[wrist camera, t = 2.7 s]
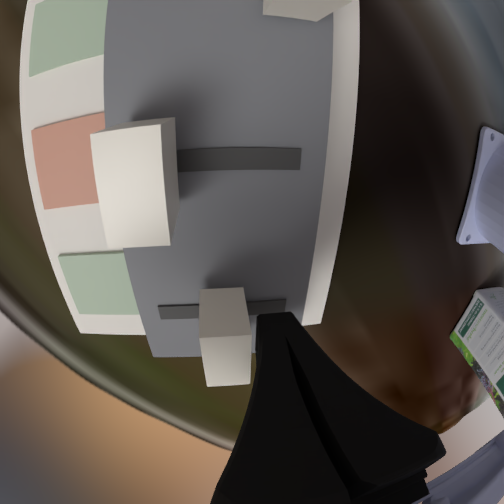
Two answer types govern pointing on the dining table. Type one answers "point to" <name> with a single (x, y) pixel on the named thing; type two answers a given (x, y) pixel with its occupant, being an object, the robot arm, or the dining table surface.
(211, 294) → the knob far
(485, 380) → the syrup box
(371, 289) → the dining table surface
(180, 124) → the switch unit
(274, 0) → the knob near
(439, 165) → the dining table surface
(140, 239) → the knob middle
